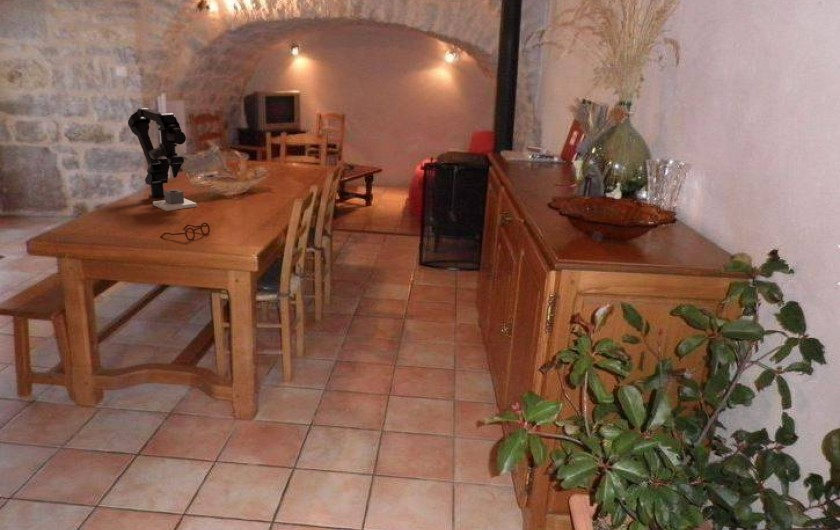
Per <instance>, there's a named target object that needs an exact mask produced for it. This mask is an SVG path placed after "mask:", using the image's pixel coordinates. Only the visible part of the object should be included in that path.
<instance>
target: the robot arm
mask: <svg viewBox="0 0 840 530" xmlns="http://www.w3.org/2000/svg"><path fill="white" fill-rule="evenodd" d="M151 121H153V122H155V124H156V126H157V125H158V126H159V127H158V129H157V130H158V131H160V141H161V142H160V143H159V144H158V146H159V147H156V148H155V147H154V145H153V142H152V140H151V137H150V135H149V134H150V133H149V130H150V124H151ZM127 125H128V127H129V129H130V131H131V132H132V134H134V135H135V136H136V137H137V138H138V141H139V144H140V146H141V149H142V152H143V155H144V157H145V159H146V162H147V169H146V172H147V175H146V177H145V178H144V182H145V185H149V186H150V194H148V196H149V197H151V198H153V199H158V198H165V194H164V191H165V186H164V184H168V182H169V171H170V168H171V174H172V177H173V178H174V179H175V178H177V176H178V174H179V171H180V169H181V167H182V165H184V163H185V158H184V157H183V156H182V155H178V153H177V152H176V147H177V146H178V145H183V144H185V142H186V140H187V136H186V134H185V133H184V132H183V131H182V128H181V126H180V123H179V121H178V119H177V117H176V115H175V114H174V113H173V112H159V111H157V110H154V109H151V108H150V107H149V108H148V107H139V108H138V109H137V110H136V112H134V113H132V114H131V115H130V117H129V118H128V120H127Z"/></svg>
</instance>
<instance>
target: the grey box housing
mask: <svg viewBox="0 0 840 530" xmlns="http://www.w3.org/2000/svg"><path fill="white" fill-rule="evenodd" d="M164 194H165V197H164V200H165V202H166V203H168V204H171V205H172V204H179V203H184V198H185V197H184V196H185V195H184V191H182V190H180V189H171V190H164Z"/></svg>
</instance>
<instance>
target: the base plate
mask: <svg viewBox="0 0 840 530" xmlns="http://www.w3.org/2000/svg"><path fill="white" fill-rule="evenodd" d="M152 205H153V206H154V207H157V208H159V209H161V210H163V211H166V212H167V211H168V212H169V211H175V210H182V209H189V208H197V207H198V203H197V202H194V201H192V200H190V199H187V198H185V197H184V203H179V204H172V205H171V204H168V203H166V202H165V199H164V200H157V201H155V200H154V201H152Z"/></svg>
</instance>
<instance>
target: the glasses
mask: <svg viewBox="0 0 840 530" xmlns="http://www.w3.org/2000/svg"><path fill="white" fill-rule="evenodd" d="M205 227H207V232H206V233H205V232H204V231H203V228H205ZM182 230H183V231H185V232H177V233H176V232H175V233H174V232H173V233H172V232H163V233H162V235H160V236H159V238H163V237H164V236H166V235H171V236H180V235H181V236H182V235H185V238H186V240H187V241H193V240H194V239H195V238H196V233H195V231H197V230H200V232H201V234H202V235H204V236H207V235H209V233H210V231H211V228H210V225H209V223H207V222H202V223H201V224H200V225H194V224H186V225H185V226H184V227H183V228H182ZM189 230H190V231H192V234H193V235H192V238H190V237H189V236H188V231H189Z"/></svg>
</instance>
